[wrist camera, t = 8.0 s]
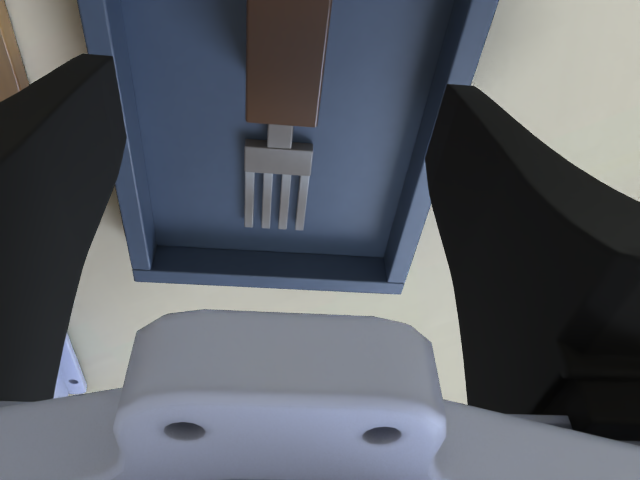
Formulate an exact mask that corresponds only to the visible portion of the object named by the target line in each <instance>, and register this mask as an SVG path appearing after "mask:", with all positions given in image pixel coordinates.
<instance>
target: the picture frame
mask: <svg viewBox="0 0 640 480" xmlns="http://www.w3.org/2000/svg"><path fill="white" fill-rule="evenodd" d="M498 2H499V0H333V1H332V9H331V17H330V26H329V34H328V42H327V51H326V59H325V67H324V75H323V84H322V92H321V100H320V109H319V117H318V125H317V127H315V128H313V127H300V126H293V138H292V142H297V143H311V144H313V159H312V168H311V175H310V178H309V187H308V195H307V204H306V212H305V221H304V229H303V230H295V218H296V208H297V199H298V189H299V179H300V176H298V175H291V186H290V197H289V208H288V220H287V229H278V220H279V206H280V192H281V178H282V174H273V182H272V200H271V218H270V228H261V221H262V197H263V173H255V183H254V220H253V227H252V228H251V227H245V226H244V207H245V171H244V146H245V140H246V139H255V140H267V130H268V124H260V123H248V122H246V120H245V92H246V0H77V3H78V8H79V13H80V18H81V23H82V27H83V32H84V37H85V42H86V47H87V52H88V54H94V55H106V56H113V59H114V65H115V71H116V77H117V83H118V89H119V94H120V100H121V106H122V112H123V118H124V124H125V130H126V136H127V139H126V144H125V149H124V154H123V158H122V163H121V167H120V171H119V175H118V178H117V180H116V183H115V188H116V193H117V197H118V202H119V207H120V212H121V217H122V222H123V227H124V231H125V236H126V241H127V246H128V251H129V256H130V261H131V265H132V268H133V269H132V271H133V276H134V281H136V282H154V283H175V284H195V285H216V286H237V287H257V288H278V289H298V290H319V291H340V292H360V293H381V294H401V292H402V289H403V286H404V283H405V280H406V277H407V274H408V272H409V269H410V266H411V263H412V260H413V257H414V254H415V251H416V248H417V245H418V242H419V239H420V236H421V233H422V230H423V227H424V224H425V221H426V218H427V215H428V212H429V209H430V206H431V200H430V196H429V190H428V182H427V174H426V164H425V156H426V153H427V150H428V146H429V143H430V139H431V136H432V133H433V129H434V126H435V123H436V119H437V116H438V113H439V109H440V106H441V103H442V99H443V96H444V92H445V89H446V86H447V84H456V85H468V86H471V83H472V80H473V77H474V74H475V71H476V68H477V65H478V62H479V59H480V56H481V53H482V50H483V47H484V44H485V41H486V38H487V35H488V32H489V29H490V26H491V23H492V20H493V17H494V14H495V11H496V8H497V5H498Z"/></svg>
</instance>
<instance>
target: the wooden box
mask: <svg viewBox="0 0 640 480" xmlns="http://www.w3.org/2000/svg"><path fill="white" fill-rule="evenodd" d="M27 86H29V82H28V79H27V75H26V72H25V69H24V65H23V62H22V59H21V55H20V52H19V49H18V45H17V42H16V38H15V35H14V32H13V28H12V25H11V22H10V18H9V15H8V12H7V8H6V5H5V2H4V0H0V102H1V101H3V100H5V99H7V98H8V97H10V96H12V95H14V94H16V93H17V92H19V91H21V90H22V89H24V88H26V87H27Z"/></svg>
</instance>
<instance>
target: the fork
mask: <svg viewBox="0 0 640 480" xmlns="http://www.w3.org/2000/svg"><path fill="white" fill-rule="evenodd" d="M332 1H333V0H246V92H245V120H246V122H248V123H260V124H268V130H267V140H255V139H246V140H245V146H244V171H245V207H244V226H245V227H251V228H252V227H253V220H254V183H255V173H263V197H262V221H261V228H270V218H271V200H272V182H273V174H282V178H281V192H280V206H279V220H278V229H287V220H288V208H289V197H290V186H291V175H298V176H300V179H299V189H298V199H297V208H296V218H295V230H303V229H304V221H305V212H306V204H307V195H308V187H309V178H310V175H311V168H312V159H313V144H311V143H297V142H292V138H293V126H300V127H313V128H315V127H317V125H318V117H319V109H320V100H321V92H322V84H323V75H324V67H325V59H326V51H327V42H328V34H329V26H330V17H331V9H332Z"/></svg>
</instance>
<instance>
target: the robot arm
mask: <svg viewBox="0 0 640 480" xmlns="http://www.w3.org/2000/svg"><path fill="white" fill-rule="evenodd" d="M126 139H127V136H126V130H125V124H124V118H123V112H122V106H121V100H120V94H119V89H118V83H117V77H116V71H115V65H114V59H113V56H106V55H94V54H81V55H79V56H77V57H75V58H73V59H71V60H70V61H68V62H66V63H65V64H63V65H61V66H60V67H58V68H56V69H55V70H53V71H52V72H50V73H48V74H47V75H45V76H44V77H42V78H40V79H39V80H37V81H35V82H34V83H32V84H31V85H29V86H27V87H26V88H24V89H22V90H21V91H19V92H17V93H16V94H14V95H12V96H10V97H8V98H7V99H5V100H3V101H1V102H0V480H640V202H638V201H636V200H634V199H632V198H630V197H628V196H626V195H624V194H622V193H620V192H618V191H617V190H615V189H613V188H611V187H609V186H608V185H606V184H604V183H602V182H601V181H599V180H597V179H596V178H594V177H592V176H591V175H589V174H588V173H586V172H584V171H583V170H581V169H579V168H578V167H576V166H575V165H573V164H572V163H570V162H569V161H567V160H566V159H565V158H563V157H562V156H561V155H559V154H558V153H556V152H555V151H554V150H552V149H551V148H550V147H548V146H547V145H546V144H544V143H543V142H542V141H541V140H539V139H538V138H537V137H536V136H534V135H533V134H532V133H531V132H529V131H528V130H527V129H526V128H525V127H523V126H522V125H521V124H520V123H519V122H517V121H516V120H515V119H514V118H513V117H512V116H510V115H509V114H508V113H507V112H506V111H505V110H503V109H502V108H501V107H500V106H499V105H498V104H496V103H495V102H494V101H493V100H492V99H491V98H489V97H488V96H487V95H486V94H484V93H483V92H482V91H481V90H479V89H478V88H476V87H475V86H468V85H456V84H447V86H446V89H445V92H444V96H443V99H442V103H441V106H440V109H439V113H438V116H437V119H436V123H435V126H434V129H433V133H432V136H431V139H430V143H429V146H428V150H427V153H426V156H425V164H426V174H427V182H428V190H429V196H430V200H431V204H432V207H433V211H434V215H435V218H436V222H437V226H438V229H439V233H440V236H441V240H442V243H443V247H444V251H445V254H446V258H447V261H448V265H449V268H450V273H451V277H452V281H453V286H454V293H455V299H456V306H457V312H458V319H459V327H460V335H461V343H462V351H463V359H464V370H465V380H466V391H467V402H468V405H465V404H461V403H457V402H452V401H448V400H444V399H443V398H442V393H441V388H440V383H439V378H438V373H437V368H436V363H435V358H434V353H433V348H432V343H431V342H430V341H429V340H428V339H427V338H425V337H424V336H423V335H422V334H420V333H419V332H418V331H417V330H416V329H414V328H413V327H412V326H411V325H408V324H406V323H402V322H397V321H392V320H388V319H383V318H378V317H374V316H351V315H327V314H303V313H280V312H256V311H232V310H208V309H203V310H194V311H186V312H178V313H170V314H166V315H163V316H162V317H160V318H158V319H157V320H155V321H153V322H152V323H150V324H148V325H147V326H145V327H143V328H142V329H140V330H138V331H137V333H136V336H135V340H134V344H133V348H132V352H131V356H130V360H129V364H128V368H127V372H126V376H125V381H124V385H123V388H116V389H110V390H104V391H98V392H92V393H85V392H86V389H87V383H86V381H85V378H84V376H83V373H82V370H81V368H80V365H79V362H78V360H77V357H76V355H75V352H74V349H73V347H72V344H71V341H70V339H69V336H68V333H67V329H68V325H69V321H70V316H71V312H72V308H73V304H74V300H75V296H76V292H77V288H78V284H79V280H80V276H81V273H82V269H83V266H84V263H85V260H86V257H87V254H88V251H89V248H90V246H91V243H92V241H93V238H94V236H95V233H96V231H97V228H98V226H99V223H100V221H101V218H102V216H103V213H104V211H105V208H106V206H107V203H108V201H109V198H110V196H111V193H112V191H113V188H114V186H115V183H116V180H117V178H118V175H119V171H120V167H121V163H122V158H123V154H124V149H125V144H126ZM83 393H85V394H83ZM68 394H79V395H73V396H68Z"/></svg>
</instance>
